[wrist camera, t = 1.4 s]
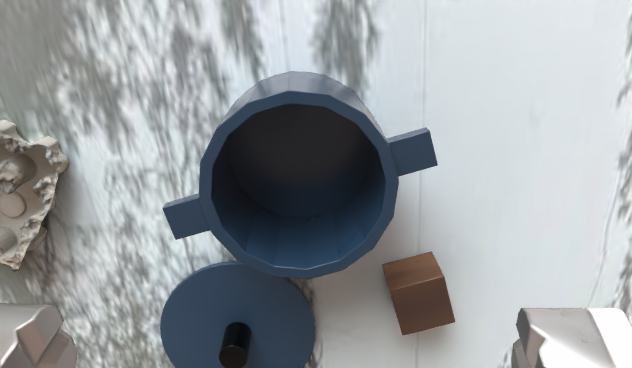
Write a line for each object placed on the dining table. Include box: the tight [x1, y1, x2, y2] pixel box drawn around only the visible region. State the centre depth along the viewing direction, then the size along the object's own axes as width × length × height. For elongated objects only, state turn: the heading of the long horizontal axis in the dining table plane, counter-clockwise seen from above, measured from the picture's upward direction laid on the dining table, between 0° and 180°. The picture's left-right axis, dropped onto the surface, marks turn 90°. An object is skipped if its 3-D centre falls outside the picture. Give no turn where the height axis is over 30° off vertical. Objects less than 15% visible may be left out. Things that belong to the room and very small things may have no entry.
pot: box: [163, 71, 438, 279], centre depth 39 cm, size 13×18×10 cm
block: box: [383, 252, 455, 336], centre depth 45 cm, size 4×4×4 cm
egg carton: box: [0, 120, 69, 272], centre depth 42 cm, size 11×8×4 cm
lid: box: [160, 261, 315, 368], centre depth 47 cm, size 14×14×5 cm
